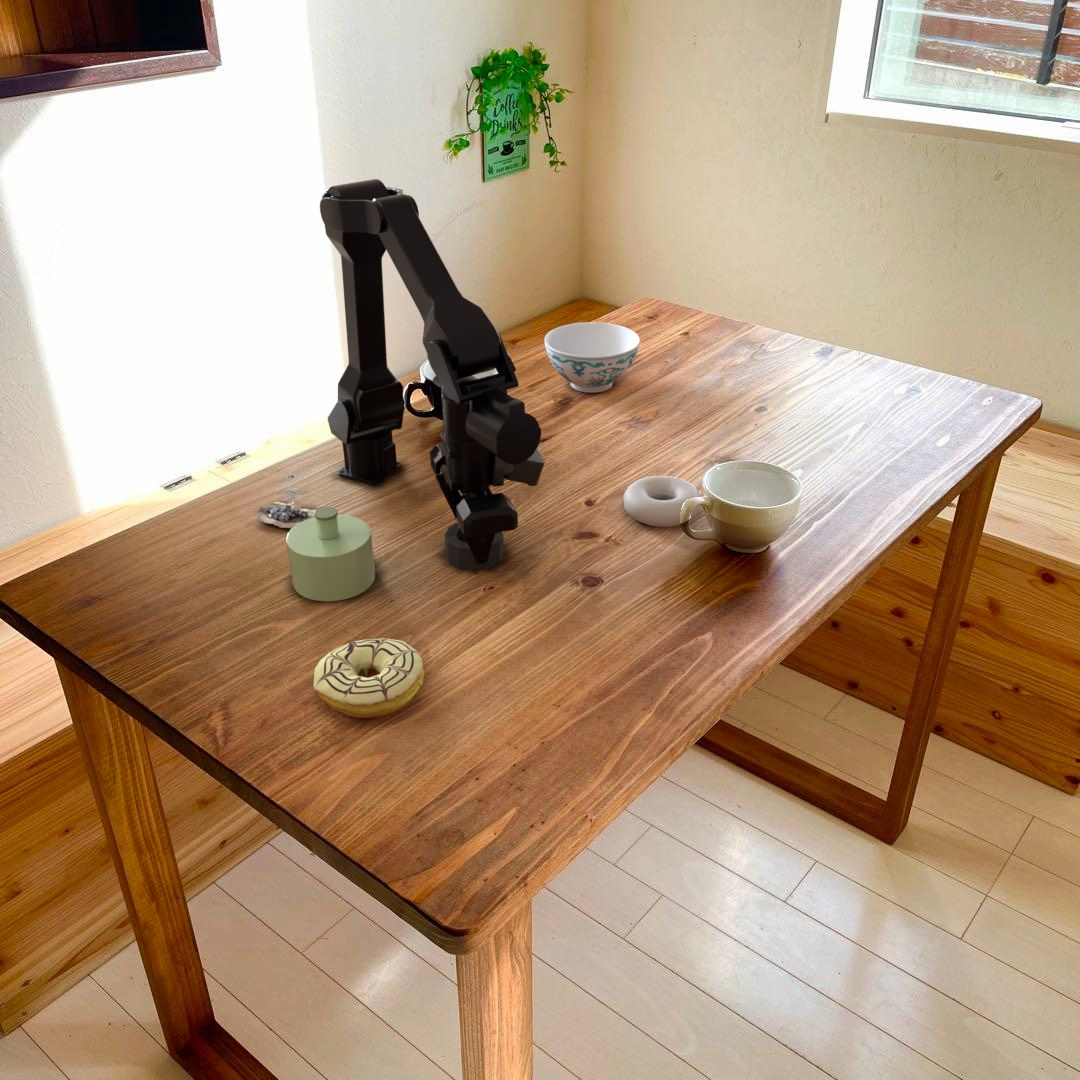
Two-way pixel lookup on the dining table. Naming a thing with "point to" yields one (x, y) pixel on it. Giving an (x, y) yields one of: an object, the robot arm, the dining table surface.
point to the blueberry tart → (284, 514)
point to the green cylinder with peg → (331, 556)
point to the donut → (659, 500)
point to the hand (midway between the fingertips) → (474, 547)
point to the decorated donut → (369, 677)
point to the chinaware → (591, 353)
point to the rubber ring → (462, 554)
